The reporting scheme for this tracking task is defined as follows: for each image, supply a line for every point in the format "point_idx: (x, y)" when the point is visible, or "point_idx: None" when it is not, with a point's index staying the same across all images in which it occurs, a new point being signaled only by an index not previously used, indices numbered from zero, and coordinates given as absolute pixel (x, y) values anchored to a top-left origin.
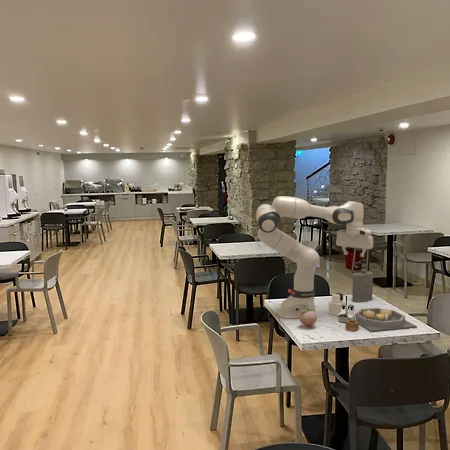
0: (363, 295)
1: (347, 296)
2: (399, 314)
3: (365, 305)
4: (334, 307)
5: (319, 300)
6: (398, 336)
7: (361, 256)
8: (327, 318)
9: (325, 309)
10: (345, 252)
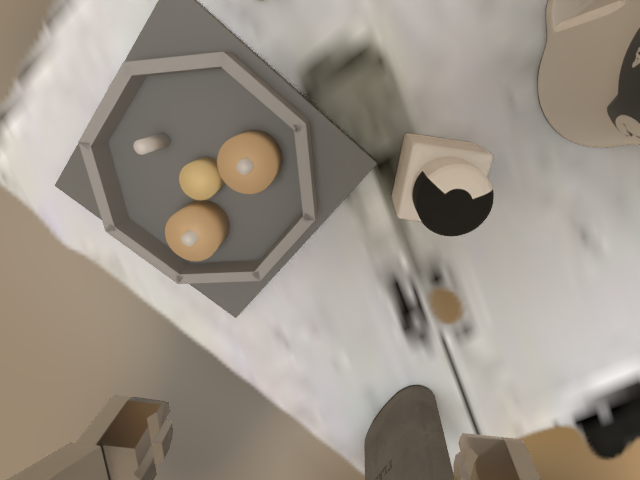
0: (387, 428)
1: None
2: (137, 242)
3: (360, 364)
4: (445, 144)
5: (588, 337)
6: (52, 10)
7: (139, 398)
8: (455, 67)
9: (514, 214)
10: (498, 474)
